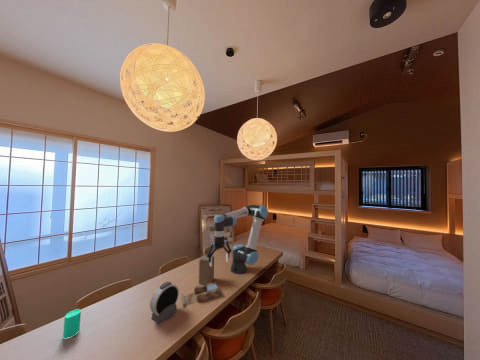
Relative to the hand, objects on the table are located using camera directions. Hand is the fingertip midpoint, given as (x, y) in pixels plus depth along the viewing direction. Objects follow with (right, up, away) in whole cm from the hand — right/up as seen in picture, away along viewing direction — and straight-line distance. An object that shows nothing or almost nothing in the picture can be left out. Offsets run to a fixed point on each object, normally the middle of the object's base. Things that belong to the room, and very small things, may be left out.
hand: (219, 263), depth 123 cm
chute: (-12, -19, -9) cm, 24 cm away
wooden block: (-12, -20, +10) cm, 26 cm away
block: (-4, -19, -5) cm, 20 cm away
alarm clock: (-30, -18, -26) cm, 43 cm away
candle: (-72, -16, -40) cm, 84 cm away
